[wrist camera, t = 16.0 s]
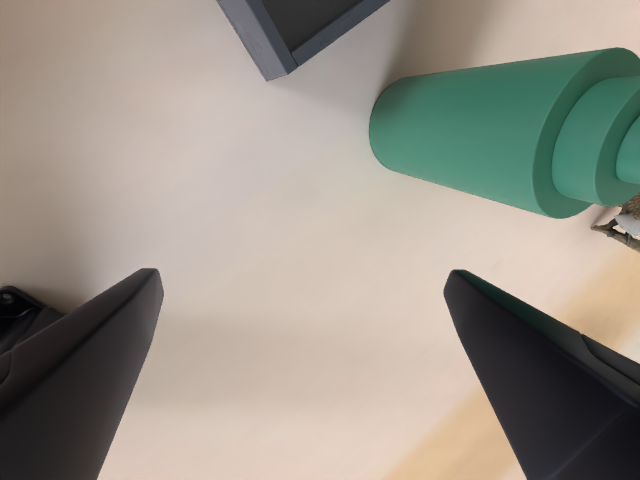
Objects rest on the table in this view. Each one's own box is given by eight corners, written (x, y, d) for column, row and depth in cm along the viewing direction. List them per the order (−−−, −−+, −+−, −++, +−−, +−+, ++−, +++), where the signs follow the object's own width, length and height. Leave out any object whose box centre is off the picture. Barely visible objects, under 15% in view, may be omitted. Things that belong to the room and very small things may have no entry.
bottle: (368, 177, 21) (645, 280, 8) (368, 79, 19) (759, 16, 6) (439, 165, 23) (750, 234, 10) (447, 74, 20) (871, 19, 8)
